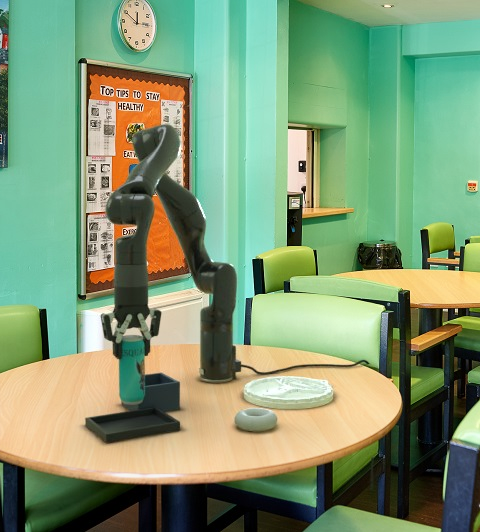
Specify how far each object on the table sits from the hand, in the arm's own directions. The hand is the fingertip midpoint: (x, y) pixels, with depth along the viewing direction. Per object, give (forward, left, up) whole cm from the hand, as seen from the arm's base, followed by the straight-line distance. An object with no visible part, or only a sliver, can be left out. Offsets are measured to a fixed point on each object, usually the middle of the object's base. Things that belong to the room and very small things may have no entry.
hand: (131, 356), depth 184 cm
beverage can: (0, 0, -11) cm, 11 cm away
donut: (-25, +13, -17) cm, 33 cm away
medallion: (-47, -5, -17) cm, 50 cm away
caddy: (-10, -13, -17) cm, 23 cm away
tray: (0, 0, -17) cm, 17 cm away
